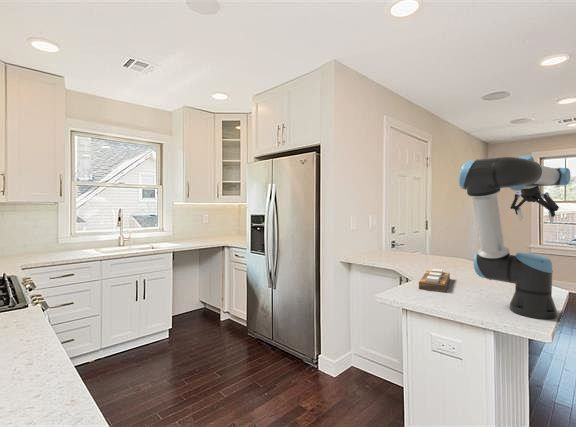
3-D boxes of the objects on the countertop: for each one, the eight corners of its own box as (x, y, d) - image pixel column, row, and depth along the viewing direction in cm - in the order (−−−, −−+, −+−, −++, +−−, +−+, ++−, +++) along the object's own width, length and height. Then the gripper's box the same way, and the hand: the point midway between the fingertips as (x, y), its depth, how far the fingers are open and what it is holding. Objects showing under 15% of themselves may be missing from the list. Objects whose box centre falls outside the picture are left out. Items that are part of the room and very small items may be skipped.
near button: (438, 284, 162) (438, 279, 162) (426, 283, 165) (426, 278, 165) (439, 282, 167) (439, 277, 167) (427, 281, 169) (427, 275, 169)
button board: (444, 292, 158) (444, 284, 158) (418, 289, 165) (418, 281, 164) (449, 279, 184) (449, 272, 184) (426, 276, 190) (427, 270, 190)
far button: (441, 276, 179) (442, 271, 179) (431, 275, 182) (431, 270, 182) (442, 274, 184) (442, 269, 184) (432, 273, 187) (432, 268, 187)
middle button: (440, 280, 171) (440, 275, 171) (429, 279, 173) (429, 274, 173) (441, 278, 175) (441, 273, 175) (430, 276, 178) (430, 272, 178)
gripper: (563, 181, 152) (568, 218, 159) (504, 181, 173) (512, 214, 180) (557, 189, 149) (563, 226, 156) (498, 189, 169) (506, 222, 177)
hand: (536, 220), depth 168 cm, fingers open, 13 cm apart
